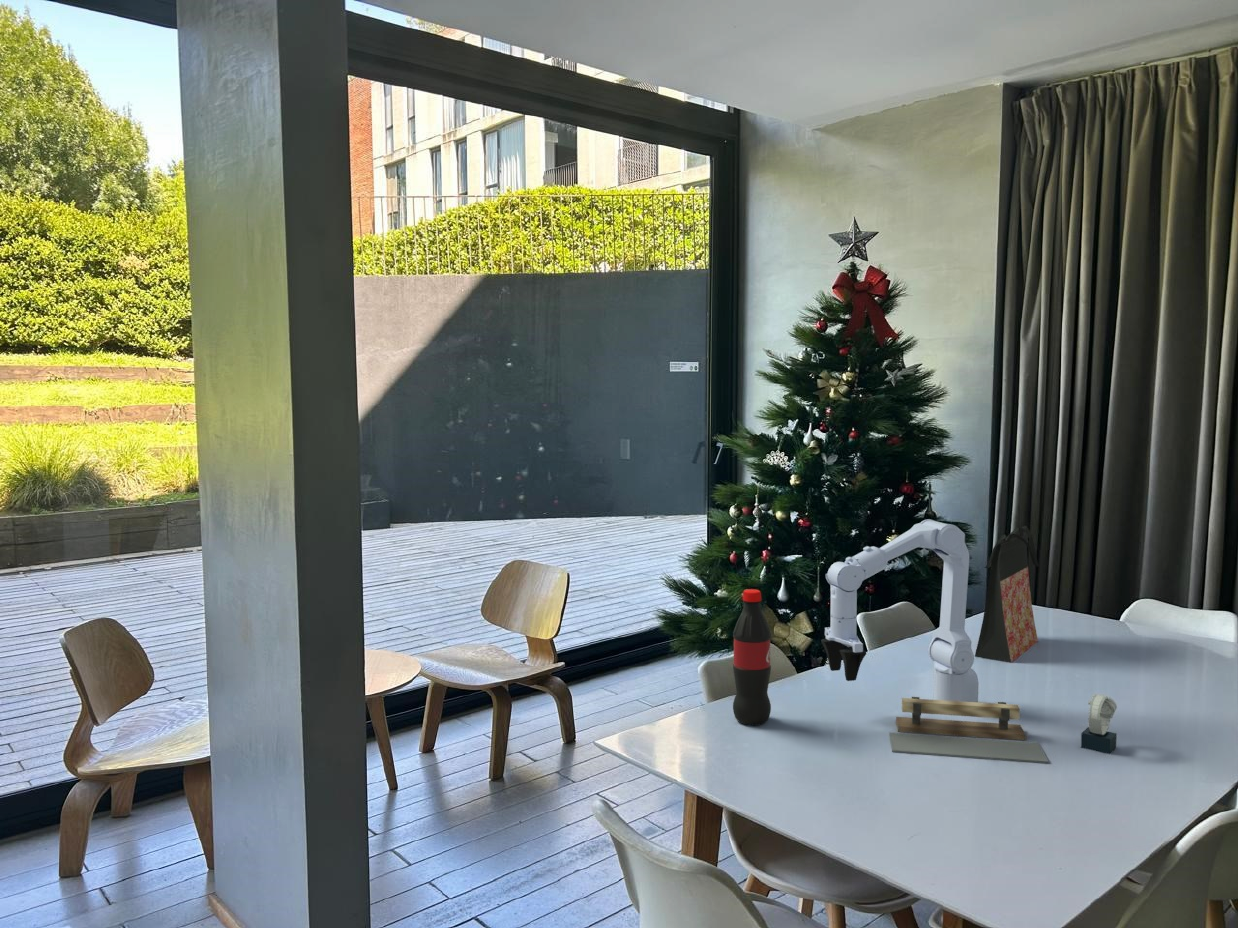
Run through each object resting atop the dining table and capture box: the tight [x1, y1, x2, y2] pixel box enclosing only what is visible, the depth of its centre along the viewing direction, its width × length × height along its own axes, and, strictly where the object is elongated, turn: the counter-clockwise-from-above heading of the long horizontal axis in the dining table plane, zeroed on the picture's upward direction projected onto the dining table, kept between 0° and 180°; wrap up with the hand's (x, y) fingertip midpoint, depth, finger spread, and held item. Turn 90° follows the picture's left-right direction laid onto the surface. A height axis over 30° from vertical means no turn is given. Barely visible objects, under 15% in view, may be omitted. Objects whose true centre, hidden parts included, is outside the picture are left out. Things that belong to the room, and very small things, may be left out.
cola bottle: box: [732, 588, 772, 726], centre depth 212 cm, size 8×8×30 cm
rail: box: [901, 697, 1021, 720], centre depth 205 cm, size 24×2×2 cm, turn 77°
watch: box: [1080, 694, 1118, 755], centre depth 195 cm, size 6×8×11 cm
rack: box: [895, 696, 1027, 741], centre depth 205 cm, size 26×6×6 cm, turn 77°
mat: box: [888, 732, 1050, 764], centre depth 196 cm, size 30×10×1 cm, turn 77°
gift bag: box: [974, 525, 1040, 664], centre depth 267 cm, size 29×14×35 cm, turn 141°
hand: (842, 675), depth 213 cm, fingers open, 7 cm apart
